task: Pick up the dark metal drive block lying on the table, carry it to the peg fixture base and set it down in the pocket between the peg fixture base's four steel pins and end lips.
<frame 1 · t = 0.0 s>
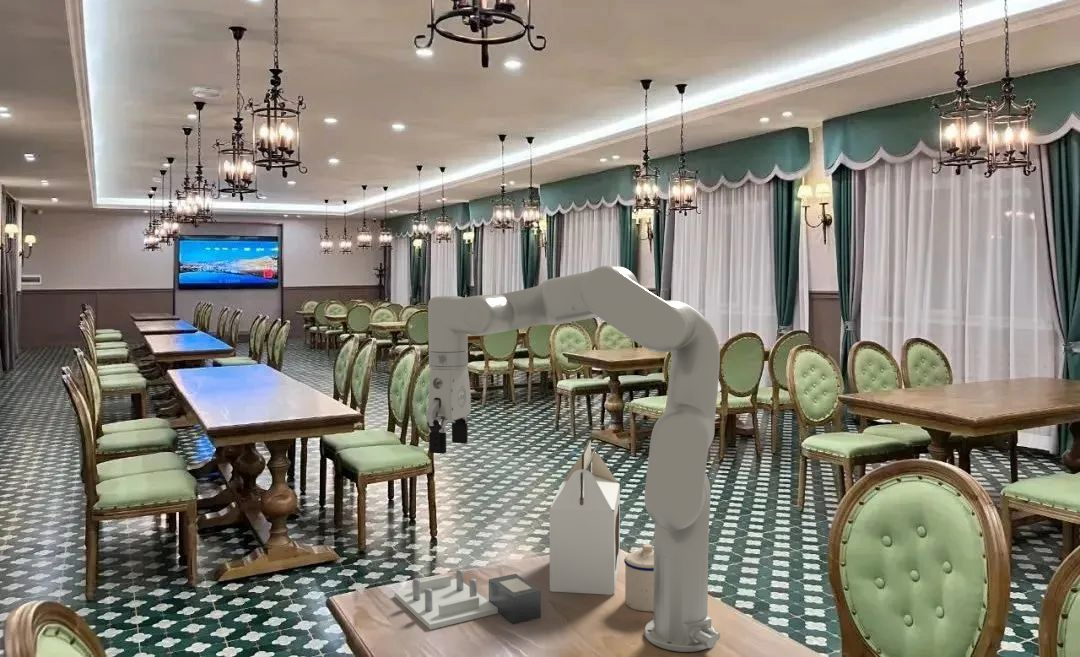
hand: (449, 447, 156), 31 cm above the table, tool pointing down, fingers open, 9 cm apart
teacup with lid: (646, 601, 159), on the table
drive: (514, 612, 154), on the table
gable box: (586, 575, 174), on the table
peg fixture base: (445, 604, 158), on the table
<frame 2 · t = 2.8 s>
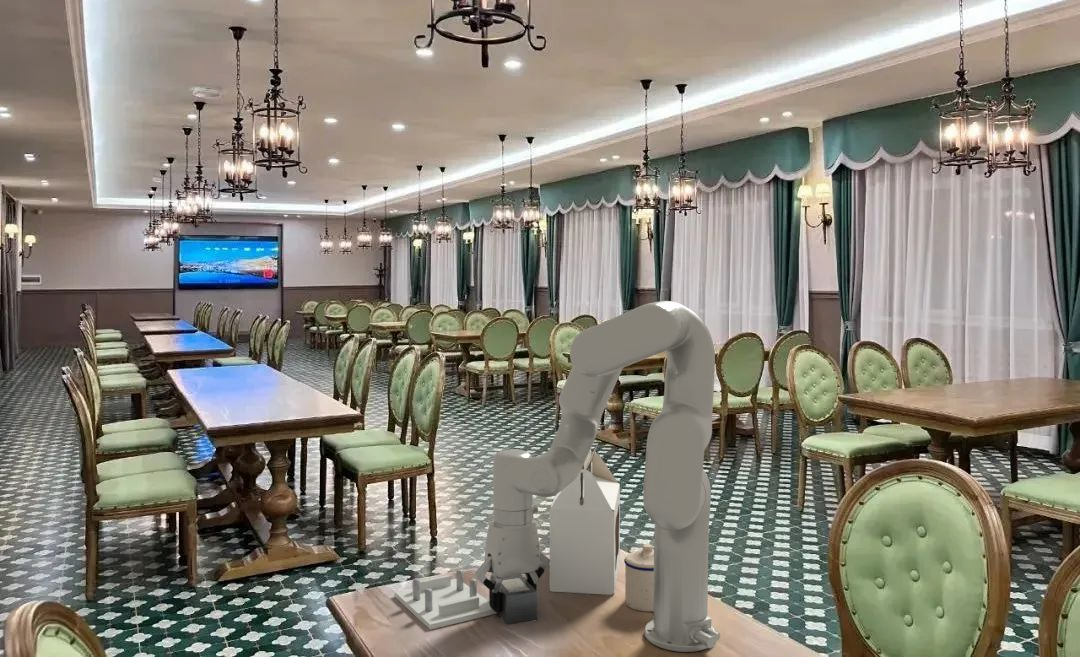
hand: (513, 605, 154), 1 cm above the table, tool pointing down, fingers closed on drive, 6 cm apart
drive: (513, 612, 154), on the table, touching gripper, peg fixture base
everything else where it was.
when the fingers open (3 cm above the table, at t = 7.5 s): drive stays where it is, resting on peg fixture base.
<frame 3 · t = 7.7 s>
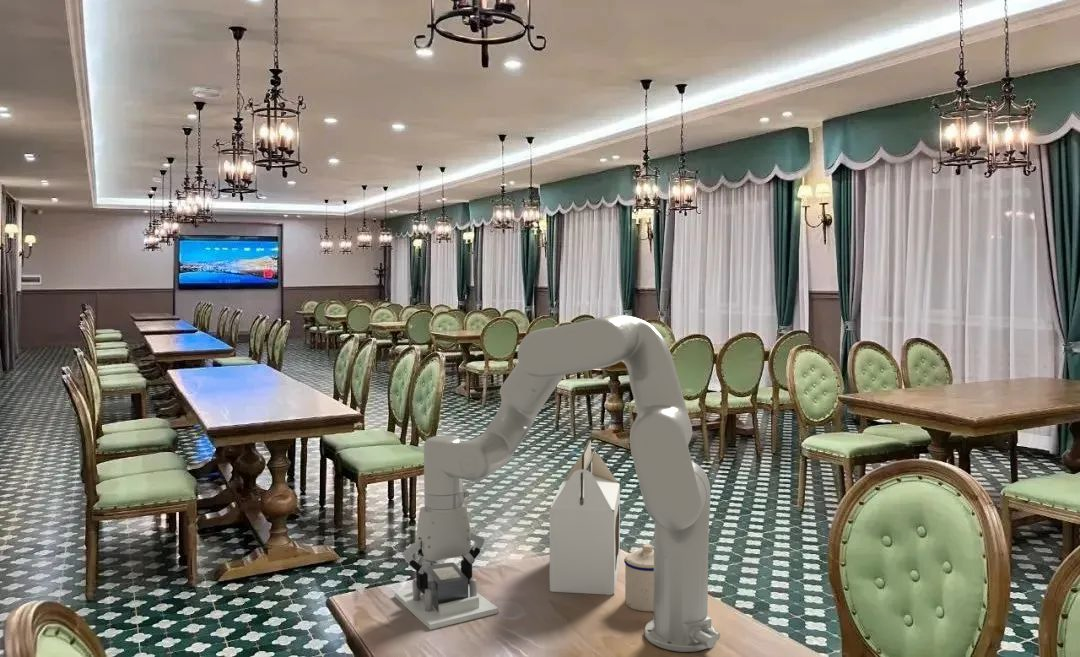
hand: (444, 586, 157), 4 cm above the table, tool pointing down, fingers open, 8 cm apart
drive: (446, 600, 157), point 1 cm above the table, touching peg fixture base
everything else where it was.
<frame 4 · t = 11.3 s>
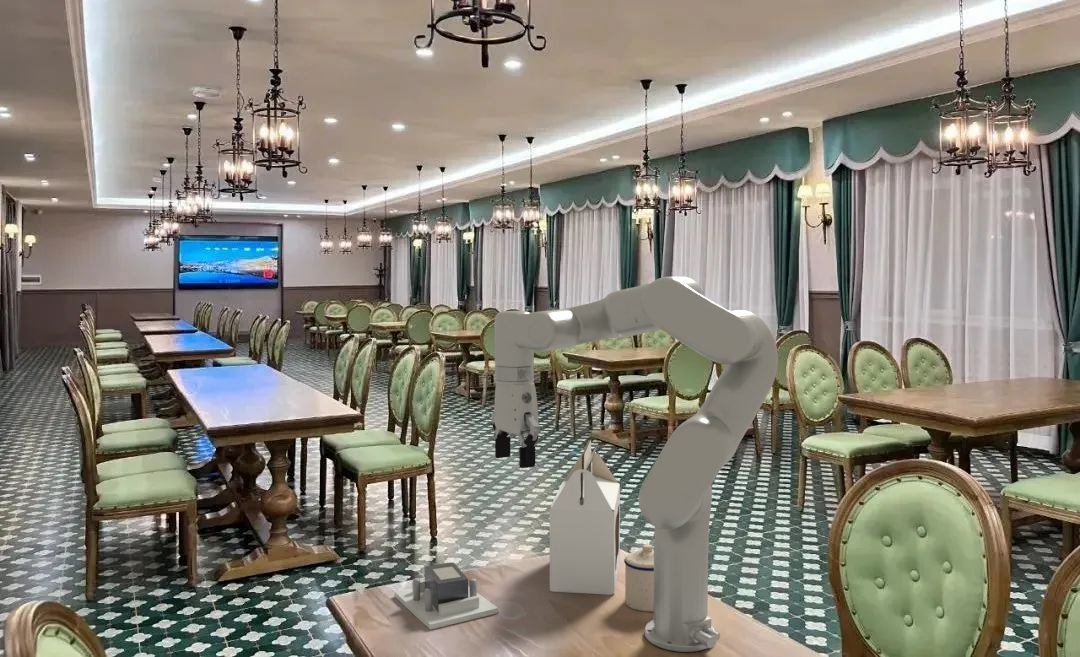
hand: (514, 462, 156), 28 cm above the table, tool pointing down, fingers open, 9 cm apart
nothing on the table moved.
at the end: drive 0.3 cm off-centre on the peg fixture base, point 1.0 cm above the peg fixture base's base; drive tilted 0°; the gripper is holding nothing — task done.
